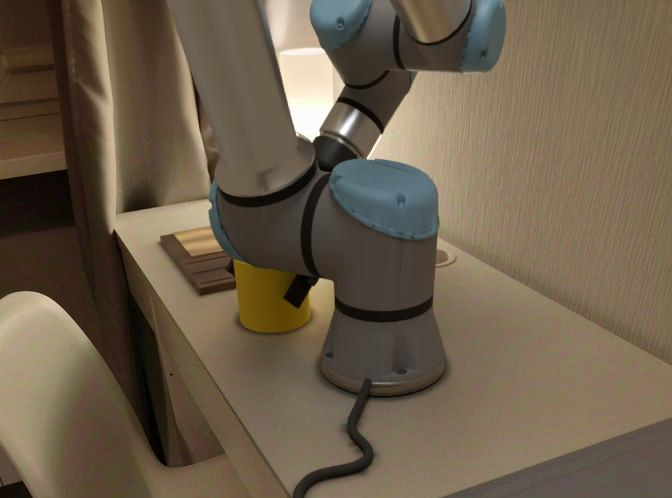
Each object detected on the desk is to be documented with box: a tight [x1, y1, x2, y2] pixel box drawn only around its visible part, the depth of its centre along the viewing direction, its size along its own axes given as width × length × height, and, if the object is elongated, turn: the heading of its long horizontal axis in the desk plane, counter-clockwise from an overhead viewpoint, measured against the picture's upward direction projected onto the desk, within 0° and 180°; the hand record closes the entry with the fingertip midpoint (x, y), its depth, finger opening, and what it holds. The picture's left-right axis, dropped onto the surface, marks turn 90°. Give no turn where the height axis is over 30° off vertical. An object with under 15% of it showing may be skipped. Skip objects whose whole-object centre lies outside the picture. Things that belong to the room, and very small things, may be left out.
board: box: [159, 225, 237, 296], centre depth 122 cm, size 26×17×1 cm, turn 23°
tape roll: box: [233, 259, 311, 334], centre depth 100 cm, size 10×10×9 cm
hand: (260, 289), depth 99 cm, fingers open, 13 cm apart
